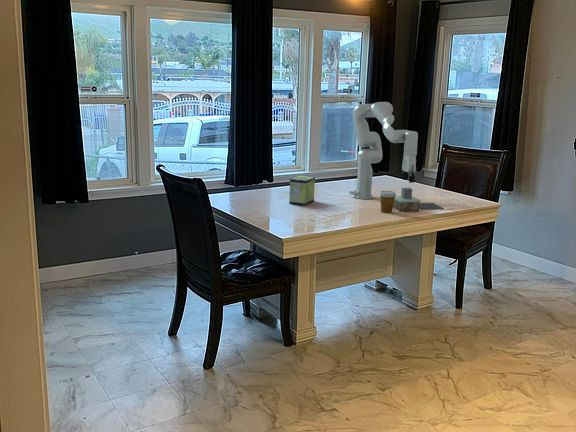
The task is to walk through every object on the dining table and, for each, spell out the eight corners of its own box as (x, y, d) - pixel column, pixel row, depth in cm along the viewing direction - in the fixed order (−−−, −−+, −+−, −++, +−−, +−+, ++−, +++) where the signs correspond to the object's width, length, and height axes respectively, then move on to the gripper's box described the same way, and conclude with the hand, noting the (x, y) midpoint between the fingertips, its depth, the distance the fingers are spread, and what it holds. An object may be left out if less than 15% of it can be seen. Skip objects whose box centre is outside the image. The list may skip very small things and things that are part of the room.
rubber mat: (421, 209, 355) (421, 209, 355) (411, 203, 369) (411, 203, 369) (443, 209, 358) (444, 208, 358) (433, 203, 372) (433, 202, 372)
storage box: (399, 212, 348) (400, 202, 346) (392, 207, 359) (393, 197, 358) (418, 211, 350) (419, 201, 349) (410, 206, 361) (411, 197, 360)
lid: (400, 202, 346) (401, 190, 344) (391, 197, 358) (392, 186, 356) (420, 202, 348) (421, 190, 346) (411, 197, 361) (412, 186, 359)
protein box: (314, 201, 369) (315, 176, 365) (304, 206, 355) (305, 180, 352) (299, 199, 373) (299, 175, 369) (288, 203, 360) (289, 179, 356)
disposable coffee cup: (396, 211, 349) (397, 191, 346) (392, 214, 341) (393, 194, 338) (380, 209, 353) (382, 189, 350) (376, 212, 345) (377, 192, 342)
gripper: (398, 150, 353) (396, 178, 357) (410, 154, 337) (408, 183, 341) (410, 150, 355) (408, 178, 359) (422, 154, 338) (420, 183, 342)
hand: (408, 181), depth 350 cm, fingers open, 9 cm apart
